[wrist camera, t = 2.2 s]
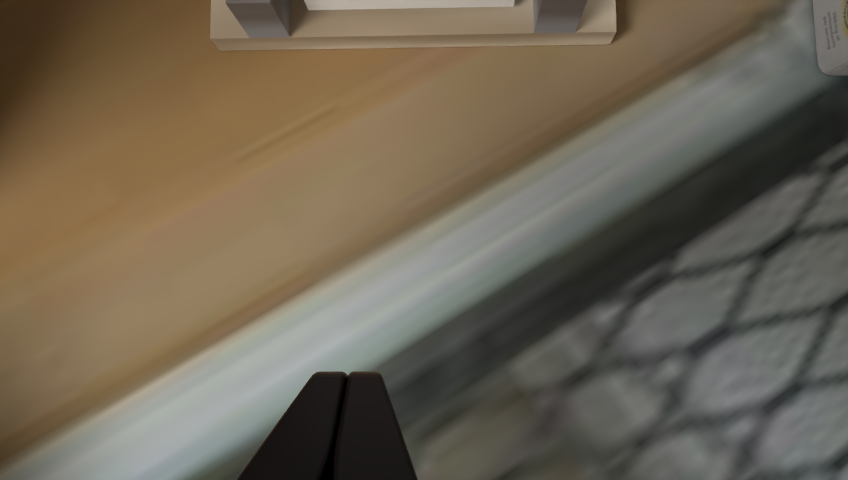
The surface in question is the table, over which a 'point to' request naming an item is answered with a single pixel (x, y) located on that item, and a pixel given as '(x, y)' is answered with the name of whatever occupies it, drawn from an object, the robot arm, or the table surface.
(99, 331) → the table surface
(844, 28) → the coffee box
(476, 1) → the push knob
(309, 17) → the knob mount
